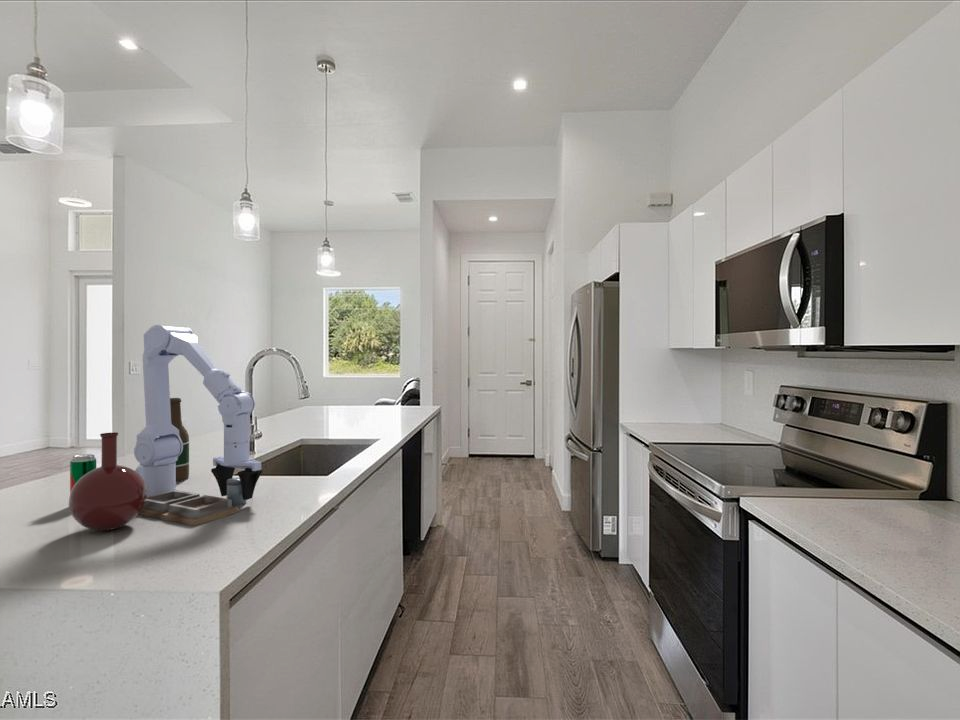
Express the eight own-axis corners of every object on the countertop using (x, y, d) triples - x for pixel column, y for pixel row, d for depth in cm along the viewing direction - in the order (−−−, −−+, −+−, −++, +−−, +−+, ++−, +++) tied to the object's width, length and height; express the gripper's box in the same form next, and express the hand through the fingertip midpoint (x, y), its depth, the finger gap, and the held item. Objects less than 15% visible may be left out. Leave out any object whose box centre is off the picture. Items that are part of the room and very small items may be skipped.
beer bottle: (151, 482, 145) (151, 398, 145) (172, 476, 153) (172, 396, 153) (175, 483, 144) (175, 399, 144) (195, 477, 152) (195, 397, 151)
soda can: (81, 509, 120) (81, 458, 120) (64, 507, 121) (64, 457, 121) (101, 503, 125) (101, 454, 125) (84, 501, 126) (84, 453, 126)
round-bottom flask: (51, 541, 99) (51, 438, 99) (97, 519, 112) (97, 429, 112) (122, 539, 100) (122, 438, 100) (159, 518, 113) (159, 428, 113)
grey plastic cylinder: (222, 505, 124) (222, 480, 123) (237, 500, 128) (238, 476, 128) (235, 507, 122) (235, 482, 122) (250, 502, 126) (250, 478, 126)
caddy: (130, 512, 117) (130, 499, 117) (176, 500, 127) (176, 488, 127) (194, 525, 108) (194, 511, 108) (238, 511, 118) (238, 499, 118)
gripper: (201, 442, 124) (201, 497, 124) (244, 446, 118) (243, 505, 118) (227, 438, 130) (226, 490, 130) (268, 442, 124) (268, 497, 124)
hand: (236, 497), depth 125 cm, fingers open, 7 cm apart
